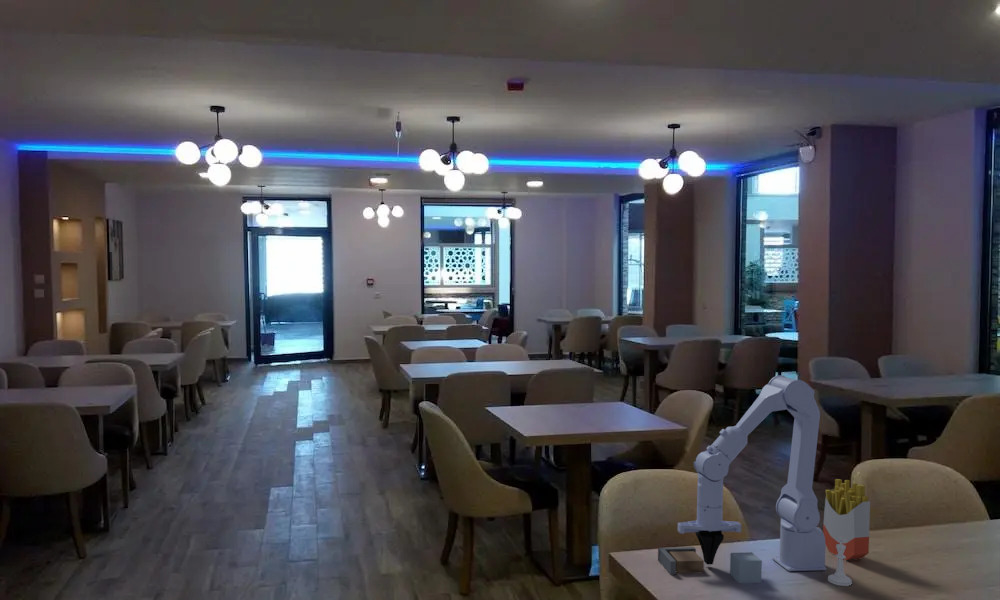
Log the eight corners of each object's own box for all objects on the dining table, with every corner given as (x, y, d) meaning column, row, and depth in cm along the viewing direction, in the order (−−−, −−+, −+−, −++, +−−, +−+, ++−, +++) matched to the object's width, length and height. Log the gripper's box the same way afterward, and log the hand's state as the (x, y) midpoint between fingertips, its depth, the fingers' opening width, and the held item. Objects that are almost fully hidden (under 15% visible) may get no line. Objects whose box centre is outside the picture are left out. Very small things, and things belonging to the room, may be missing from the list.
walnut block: (693, 563, 177) (694, 551, 176) (703, 573, 171) (703, 560, 171) (668, 564, 176) (669, 551, 176) (677, 574, 170) (677, 561, 170)
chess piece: (854, 587, 164) (856, 541, 164) (830, 584, 165) (831, 539, 165) (848, 578, 169) (850, 534, 169) (825, 576, 170) (826, 532, 170)
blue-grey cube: (751, 574, 170) (751, 552, 170) (761, 583, 165) (761, 560, 165) (729, 574, 170) (730, 552, 170) (739, 583, 165) (739, 560, 165)
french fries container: (852, 565, 177) (854, 489, 177) (821, 549, 188) (823, 477, 187) (868, 563, 178) (870, 488, 178) (836, 547, 189) (839, 476, 188)
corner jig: (693, 559, 179) (693, 547, 178) (707, 573, 170) (708, 560, 170) (657, 560, 178) (658, 547, 178) (670, 574, 169) (670, 561, 169)
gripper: (732, 499, 178) (731, 555, 179) (673, 499, 177) (672, 557, 177) (745, 507, 171) (744, 567, 172) (684, 508, 170) (682, 568, 170)
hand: (708, 562), depth 174 cm, fingers closed
